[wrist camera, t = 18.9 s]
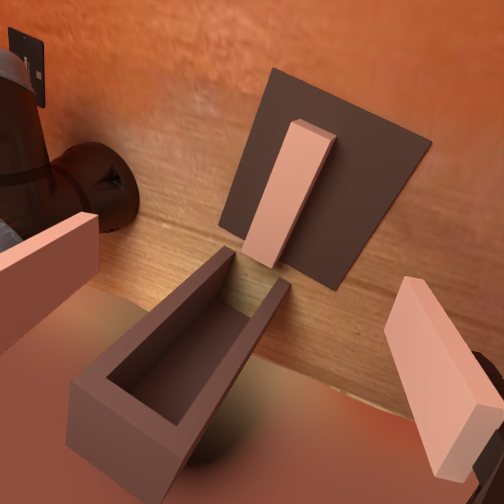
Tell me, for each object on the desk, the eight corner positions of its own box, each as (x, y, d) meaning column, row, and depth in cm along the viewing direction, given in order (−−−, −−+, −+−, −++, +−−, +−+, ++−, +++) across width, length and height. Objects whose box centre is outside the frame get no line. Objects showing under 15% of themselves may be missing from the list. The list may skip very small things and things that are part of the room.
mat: (219, 224, 55) (218, 225, 54) (273, 67, 42) (272, 67, 42) (335, 289, 52) (334, 290, 51) (431, 141, 39) (431, 141, 39)
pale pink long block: (250, 242, 53) (240, 251, 50) (299, 118, 43) (291, 122, 40) (279, 257, 53) (271, 268, 50) (336, 135, 42) (330, 140, 39)
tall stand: (204, 298, 63) (65, 444, 38) (224, 245, 56) (71, 381, 31) (263, 333, 61) (156, 512, 36) (290, 283, 54) (182, 459, 29)
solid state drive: (45, 42, 54) (41, 41, 53) (47, 108, 59) (43, 108, 59) (11, 26, 55) (7, 26, 54) (16, 93, 60) (12, 93, 60)
